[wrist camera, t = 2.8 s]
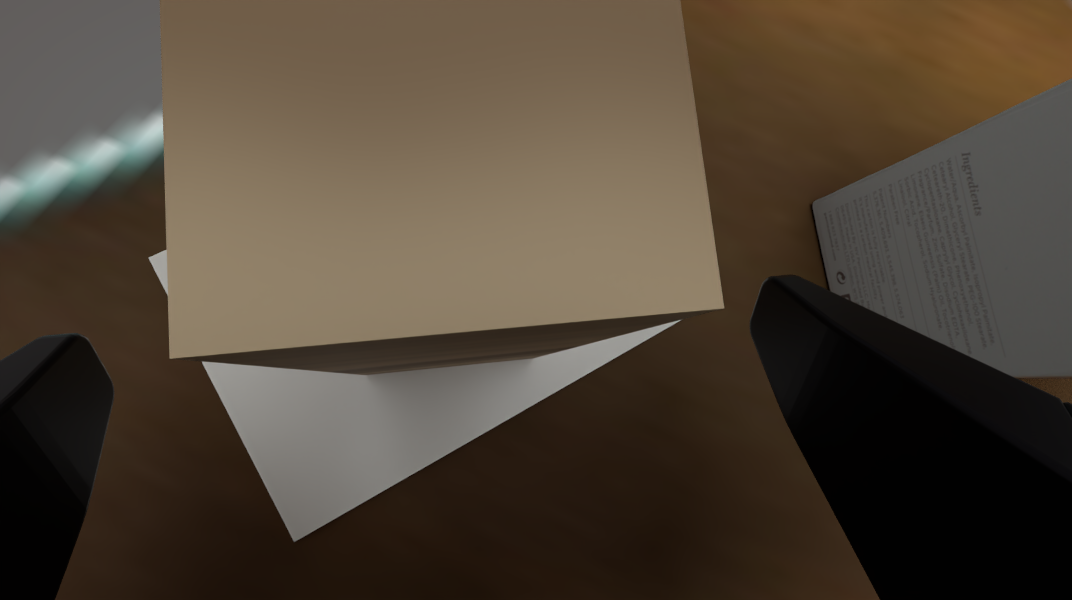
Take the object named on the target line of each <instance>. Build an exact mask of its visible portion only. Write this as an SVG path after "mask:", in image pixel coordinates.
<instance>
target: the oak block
mask: <svg viewBox="0 0 1072 600" xmlns="http://www.w3.org/2000/svg"><path fill="white" fill-rule="evenodd" d="M160 22H161V23H160V24H161V58H162V59H161V60H162V94H163V95H162V96H163V132H164V169H165V205H166V241H167V278H168V314H169V350H170V359H179V360H191V361H203V362H215V363H226V364H238V365H250V366H262V367H274V368H286V369H297V370H309V371H321V372H333V373H345V374H356V375H372V374H382V373H392V372H402V371H412V370H422V369H432V368H442V367H452V366H462V365H472V364H482V363H492V362H502V361H512V360H522V359H532V358H537V357H541V356H545V355H548V354H552V353H556V352H560V351H564V350H567V349H571V348H575V347H579V346H583V345H586V344H590V343H594V342H598V341H602V340H606V339H609V338H613V337H617V336H621V335H625V334H628V333H632V332H636V331H640V330H644V329H648V328H651V327H655V326H659V325H663V324H667V323H670V322H674V321H678V320H682V319H686V318H689V317H693V316H697V315H701V314H705V313H709V312H712V311H716V310H720V309H724V304H723V297H722V290H721V283H720V276H719V269H718V262H717V255H716V248H715V241H714V234H713V227H712V220H711V213H710V206H709V199H708V192H707V185H706V178H705V171H704V164H703V157H702V150H701V143H700V136H699V129H698V122H697V115H696V108H695V101H694V94H693V87H692V80H691V73H690V66H689V59H688V52H687V45H686V38H685V31H684V24H683V17H682V10H681V3H680V0H160Z"/></svg>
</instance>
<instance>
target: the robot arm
mask: <svg viewBox="0 0 1072 600" xmlns="http://www.w3.org/2000/svg"><path fill="white" fill-rule="evenodd" d="M750 333H751V337H752V339H753V342H754V344H755V347H756V349H757V352H758V354H759V357H760V359H761V362H762V364H763V367H764V369H765V372H766V374H767V377H768V379H769V382H770V384H771V387H772V389H773V392H774V394H775V397H776V399H777V402H778V404H779V407H780V409H781V412H782V414H783V416H784V418H785V421H786V423H787V425H788V427H789V429H790V431H791V433H792V435H793V437H794V439H795V441H796V442H797V444H798V446H799V448H800V450H801V452H802V454H803V456H804V457H805V459H806V461H807V463H808V465H809V467H810V469H811V471H812V473H813V474H814V476H815V478H816V480H817V482H818V484H819V486H820V488H821V489H822V491H823V493H824V495H825V497H826V499H827V501H828V503H829V504H830V506H831V508H832V510H833V512H834V514H835V516H836V518H837V520H838V521H839V523H840V525H841V527H842V529H843V531H844V533H845V535H846V536H847V538H848V540H849V542H850V544H851V546H852V548H853V550H854V552H855V553H856V555H857V557H858V559H859V561H860V563H861V565H862V567H863V568H864V570H865V572H866V574H867V576H868V578H869V580H870V582H871V583H872V585H873V587H874V589H875V591H876V593H877V595H878V597H879V599H880V600H1072V404H1070V403H1068V402H1064V403H1062V401H1061V400H1060V399H1059V398H1057V397H1055V396H1053V395H1051V394H1049V393H1047V392H1044V391H1042V390H1040V389H1038V388H1036V387H1034V386H1032V385H1030V384H1027V383H1025V382H1023V381H1021V380H1019V379H1017V378H1015V377H1012V376H1010V375H1008V374H1006V373H1004V372H1002V371H1000V370H997V369H995V368H993V367H991V366H989V365H987V364H985V363H983V362H980V361H978V360H976V359H974V358H972V357H970V356H968V355H965V354H963V353H961V352H959V351H957V350H955V349H953V348H951V347H948V346H946V345H944V344H942V343H940V342H938V341H936V340H933V339H931V338H929V337H927V336H925V335H923V334H921V333H919V332H916V331H914V330H912V329H910V328H908V327H906V326H904V325H901V324H899V323H897V322H895V321H893V320H891V319H889V318H887V317H884V316H882V315H880V314H878V313H876V312H874V311H872V310H869V309H867V308H865V307H863V306H861V305H859V304H857V303H855V302H852V301H850V300H848V299H846V298H844V297H842V296H840V295H837V294H835V293H833V292H831V291H829V290H827V289H825V288H822V287H820V286H818V285H816V284H814V283H812V282H810V281H808V280H805V279H803V278H801V277H799V276H796V275H781V276H771V277H768V278H767V279H766V280H765V281H764V282H763V284H762V286H761V289H760V292H759V295H758V298H757V301H756V304H755V307H754V310H753V313H752V316H751V319H750ZM113 400H114V386H113V383H112V380H111V378H110V376H109V374H108V372H107V371H106V369H105V367H104V365H103V364H102V362H101V360H100V358H99V357H98V355H97V353H96V351H95V349H94V348H93V346H92V344H91V343H90V341H89V340H88V339H87V338H86V337H85V336H83V335H81V334H78V333H71V334H58V335H47V336H42V337H39V338H37V339H35V340H34V341H32V342H30V343H29V344H27V345H25V346H24V347H22V348H20V349H19V350H17V351H15V352H14V353H12V354H10V355H9V356H7V357H6V358H4V359H2V360H1V361H0V600H55V598H56V595H57V593H58V590H59V587H60V584H61V582H62V579H63V576H64V574H65V571H66V568H67V565H68V563H69V560H70V557H71V554H72V552H73V549H74V546H75V544H76V541H77V538H78V535H79V533H80V530H81V527H82V524H83V521H84V518H85V515H86V512H87V509H88V505H89V502H90V498H91V494H92V490H93V486H94V482H95V478H96V473H97V469H98V465H99V460H100V456H101V452H102V448H103V443H104V439H105V435H106V431H107V426H108V422H109V418H110V413H111V409H112V405H113Z"/></svg>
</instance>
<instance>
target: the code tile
mask: <svg viewBox="0 0 1072 600" xmlns="http://www.w3.org/2000/svg"><path fill="white" fill-rule="evenodd" d="M149 260H150V262H151V264H152V266H153V268H154V270H155V272H156V274H157V275H158V277H159V279H160V281H161V283H162V285H163V287H164V289H165V291H166V293H167V295H168V278H167V250H165V251H162V252H160V253H158V254H156V255H154V256H151V257H149ZM679 321H680V320H678V321H674V322H670V323H667V324H663V325H659V326H655V327H651V328H648V329H644V330H640V331H636V332H632V333H628V334H625V335H621V336H617V337H613V338H609V339H606V340H602V341H598V342H594V343H590V344H586V345H583V346H579V347H575V348H571V349H567V350H564V351H560V352H556V353H552V354H548V355H545V356H541V357H537V358H532V359H522V360H512V361H502V362H492V363H482V364H472V365H462V366H452V367H442V368H432V369H422V370H412V371H402V372H392V373H382V374H372V375H356V374H345V373H333V372H321V371H309V370H297V369H286V368H274V367H262V366H250V365H238V364H226V363H215V362H203V361H202V363H203V365H204V367H205V369H206V371H207V373H208V375H209V377H210V379H211V381H212V383H213V385H214V387H215V389H216V391H217V393H218V394H219V396H220V398H221V400H222V402H223V404H224V406H225V408H226V410H227V412H228V414H229V416H230V418H231V420H232V422H233V424H234V426H235V428H236V430H237V432H238V434H239V435H240V437H241V439H242V441H243V443H244V445H245V447H246V449H247V451H248V453H249V455H250V457H251V459H252V461H253V463H254V465H255V467H256V469H257V471H258V473H259V474H260V476H261V478H262V480H263V482H264V484H265V486H266V488H267V490H268V492H269V494H270V496H271V498H272V500H273V502H274V504H275V506H276V508H277V510H278V512H279V513H280V515H281V517H282V519H283V521H284V523H285V525H286V527H287V529H288V531H289V533H290V535H291V537H292V539H293V541H294V542H295V541H297V540H299V539H301V538H302V537H304V536H306V535H308V534H309V533H311V532H313V531H315V530H316V529H318V528H320V527H321V526H323V525H325V524H327V523H328V522H330V521H332V520H334V519H335V518H337V517H339V516H341V515H342V514H344V513H346V512H348V511H349V510H351V509H353V508H355V507H356V506H358V505H360V504H362V503H363V502H365V501H367V500H369V499H370V498H372V497H374V496H375V495H377V494H379V493H381V492H382V491H384V490H386V489H388V488H389V487H391V486H393V485H395V484H396V483H398V482H400V481H402V480H403V479H405V478H407V477H409V476H410V475H412V474H414V473H416V472H417V471H419V470H421V469H423V468H424V467H426V466H428V465H430V464H431V463H433V462H435V461H436V460H438V459H440V458H442V457H443V456H445V455H447V454H449V453H450V452H452V451H454V450H456V449H457V448H459V447H461V446H463V445H464V444H466V443H468V442H470V441H471V440H473V439H475V438H477V437H478V436H480V435H482V434H484V433H485V432H487V431H489V430H490V429H492V428H494V427H496V426H497V425H499V424H501V423H503V422H504V421H506V420H508V419H510V418H511V417H513V416H515V415H517V414H518V413H520V412H522V411H524V410H525V409H527V408H529V407H531V406H532V405H534V404H536V403H538V402H539V401H541V400H543V399H545V398H546V397H548V396H550V395H551V394H553V393H555V392H557V391H558V390H560V389H562V388H564V387H565V386H567V385H569V384H571V383H572V382H574V381H576V380H578V379H579V378H581V377H583V376H585V375H586V374H588V373H590V372H592V371H593V370H595V369H597V368H599V367H600V366H602V365H604V364H605V363H607V362H609V361H611V360H612V359H614V358H616V357H618V356H619V355H621V354H623V353H625V352H626V351H628V350H630V349H632V348H633V347H635V346H637V345H639V344H640V343H642V342H644V341H646V340H647V339H649V338H651V337H653V336H654V335H656V334H658V333H660V332H661V331H663V330H665V329H666V328H668V327H670V326H672V325H673V324H675V323H677V322H679Z"/></svg>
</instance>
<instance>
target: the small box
mask: <svg viewBox="0 0 1072 600" xmlns="http://www.w3.org/2000/svg"><path fill="white" fill-rule="evenodd" d="M813 213H814V217H815V222H816V228H817V233H818V237H819V242H820V246H821V252H822V256H823V260H824V265H825V270H826V274H827V279H828V283H829V288H830V291H831V292H833V293H835V294H837V295H840V296H842V297H844V298H846V299H848V300H850V301H852V302H855V303H857V304H859V305H861V306H863V307H865V308H867V309H869V310H872V311H874V312H876V313H878V314H880V315H882V316H884V317H887V318H889V319H891V320H893V321H895V322H897V323H899V324H901V325H904V326H906V327H908V328H910V329H912V330H914V331H916V332H919V333H921V334H923V335H925V336H927V337H929V338H931V339H933V340H936V341H938V342H940V343H942V344H944V345H946V346H948V347H951V348H953V349H955V350H957V351H959V352H961V353H963V354H965V355H968V356H970V357H972V358H974V359H976V360H978V361H980V362H983V363H985V364H987V365H989V366H991V367H993V368H995V369H997V370H1000V371H1002V372H1004V373H1006V374H1008V375H1010V376H1012V377H1015V378H1017V379H1072V79H1070V80H1068V81H1066V82H1064V83H1061V84H1059V85H1057V86H1055V87H1053V88H1051V89H1049V90H1047V91H1045V92H1043V93H1041V94H1039V95H1037V96H1034V97H1032V98H1030V99H1028V100H1026V101H1024V102H1022V103H1020V104H1018V105H1016V106H1014V107H1012V108H1010V109H1008V110H1006V111H1004V112H1002V113H1000V114H998V115H996V116H993V117H991V118H989V119H987V120H985V121H983V122H981V123H979V124H977V125H975V126H973V127H971V128H969V129H967V130H965V131H963V132H961V133H959V134H957V135H955V136H952V137H950V138H948V139H946V140H944V141H942V142H940V143H938V144H936V145H934V146H932V147H930V148H928V149H926V150H923V151H921V152H919V153H917V154H915V155H913V156H911V157H909V158H907V159H905V160H902V161H900V162H898V163H896V164H894V165H892V166H889V167H887V168H885V169H883V170H881V171H879V172H876V173H874V174H872V175H870V176H867V177H865V178H863V179H861V180H859V181H857V182H855V183H852V184H850V185H848V186H846V187H844V188H842V189H840V190H838V191H836V192H834V193H832V194H829V195H827V196H825V197H823V198H820V199H818V200H816V201H814V202H813Z"/></svg>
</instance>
